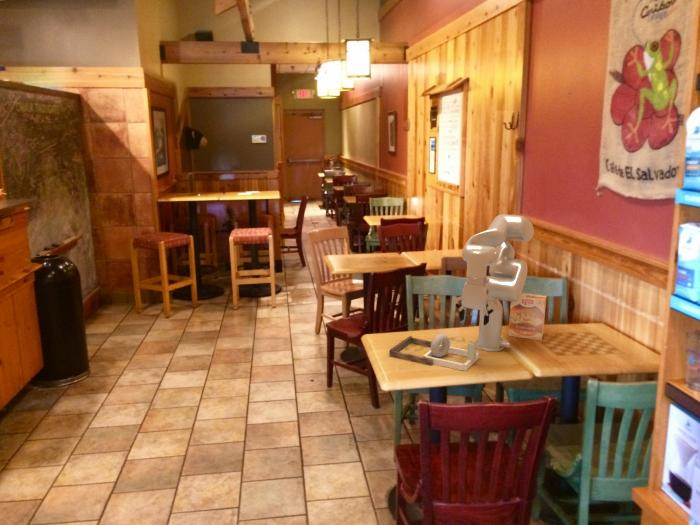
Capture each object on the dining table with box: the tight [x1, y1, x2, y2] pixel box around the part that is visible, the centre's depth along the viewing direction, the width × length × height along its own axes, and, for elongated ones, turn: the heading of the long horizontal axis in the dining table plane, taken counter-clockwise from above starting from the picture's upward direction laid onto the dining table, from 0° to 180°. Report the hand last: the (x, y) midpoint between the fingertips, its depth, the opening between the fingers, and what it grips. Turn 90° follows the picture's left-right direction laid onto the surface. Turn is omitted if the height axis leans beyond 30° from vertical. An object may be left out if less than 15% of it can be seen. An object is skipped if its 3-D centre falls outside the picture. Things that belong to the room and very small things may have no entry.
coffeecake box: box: [507, 292, 547, 341], centre depth 271 cm, size 15×7×20 cm, turn 68°
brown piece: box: [388, 335, 442, 366], centre depth 250 cm, size 19×20×3 cm
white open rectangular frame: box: [422, 340, 480, 372], centre depth 242 cm, size 19×16×9 cm
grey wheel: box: [430, 333, 451, 358], centre depth 245 cm, size 10×4×10 cm, turn 127°
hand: (473, 322), depth 235 cm, fingers open, 9 cm apart
